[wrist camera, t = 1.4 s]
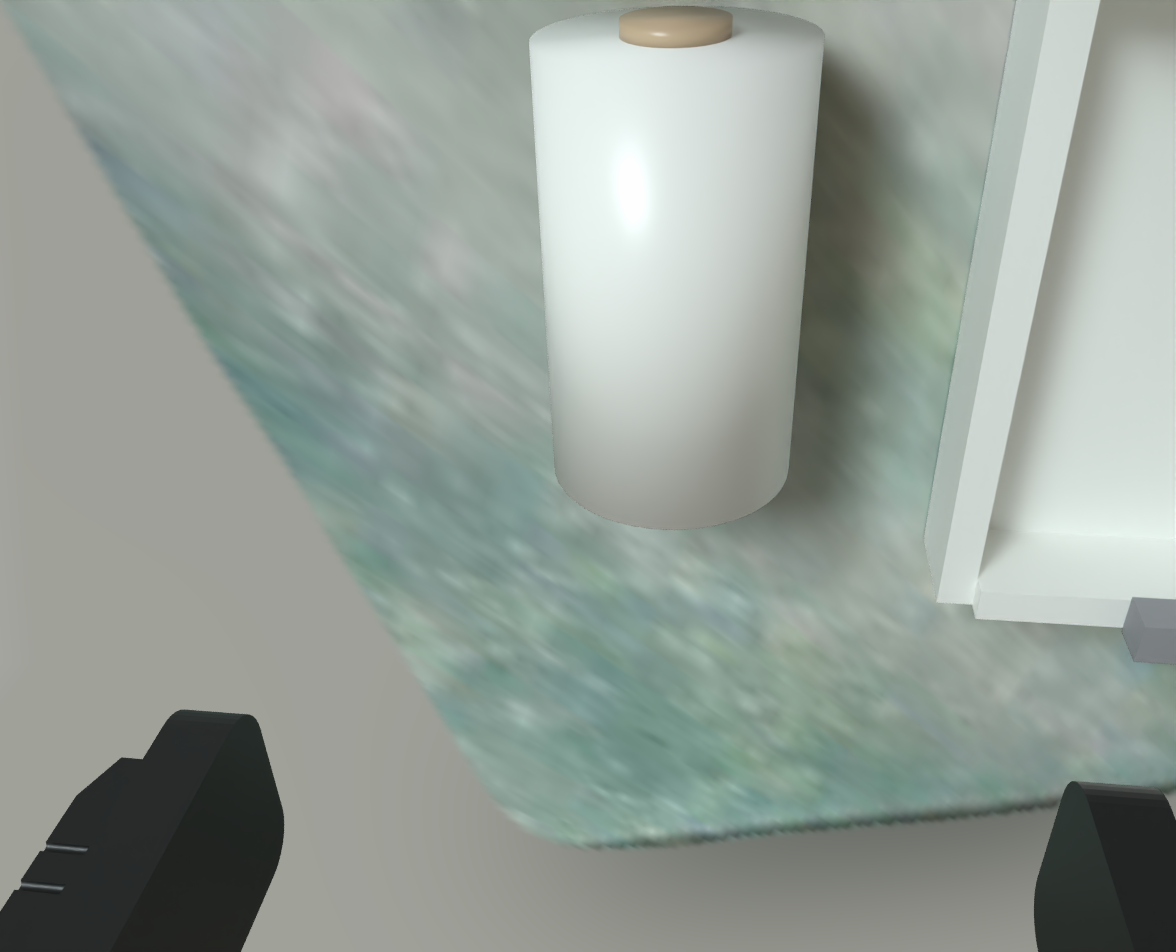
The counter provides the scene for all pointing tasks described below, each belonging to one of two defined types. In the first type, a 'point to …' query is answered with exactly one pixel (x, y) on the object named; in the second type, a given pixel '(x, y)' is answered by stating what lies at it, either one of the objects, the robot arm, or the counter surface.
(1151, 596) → the holder
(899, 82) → the counter surface
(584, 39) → the paper roll
